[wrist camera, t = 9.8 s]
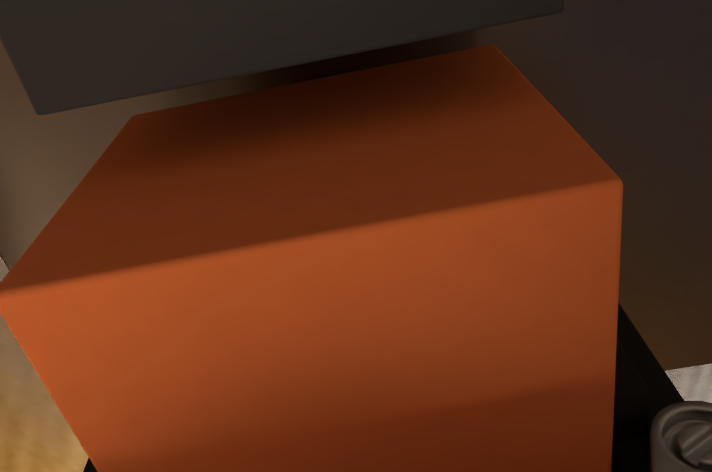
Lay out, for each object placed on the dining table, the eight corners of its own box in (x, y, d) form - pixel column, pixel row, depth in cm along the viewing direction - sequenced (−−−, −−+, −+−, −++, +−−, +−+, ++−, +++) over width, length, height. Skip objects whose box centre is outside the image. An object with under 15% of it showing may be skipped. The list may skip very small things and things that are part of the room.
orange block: (495, 42, 10) (626, 180, 5) (524, 458, 15) (603, 698, 11) (130, 114, 10) (-16, 296, 6) (280, 496, 15) (262, 743, 11)
